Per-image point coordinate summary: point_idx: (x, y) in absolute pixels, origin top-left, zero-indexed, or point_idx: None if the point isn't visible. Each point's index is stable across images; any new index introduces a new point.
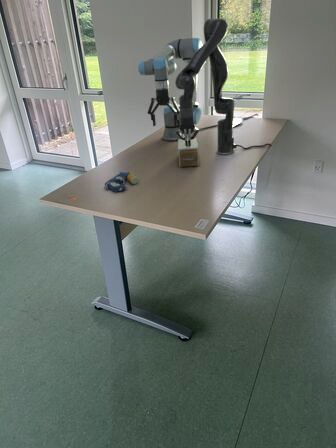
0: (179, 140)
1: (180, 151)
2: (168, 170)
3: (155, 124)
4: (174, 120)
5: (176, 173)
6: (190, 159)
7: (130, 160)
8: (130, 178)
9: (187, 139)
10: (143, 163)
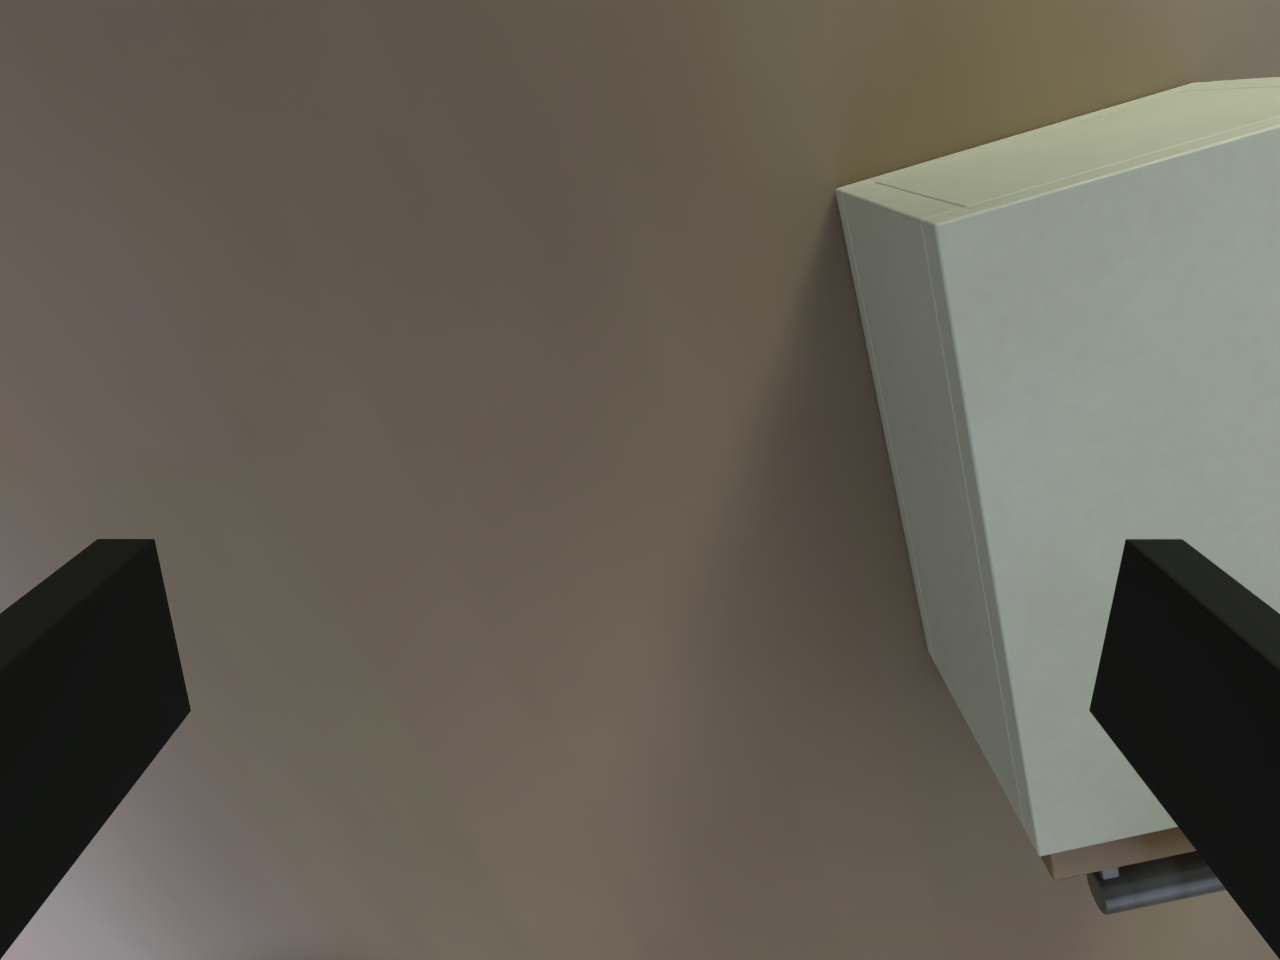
0: (988, 336)
1: (1072, 862)
2: (796, 774)
3: (146, 597)
4: (1253, 902)
5: (926, 843)
6: (1210, 891)
7: (19, 491)
8: None
9: (1209, 233)
10: (316, 587)
